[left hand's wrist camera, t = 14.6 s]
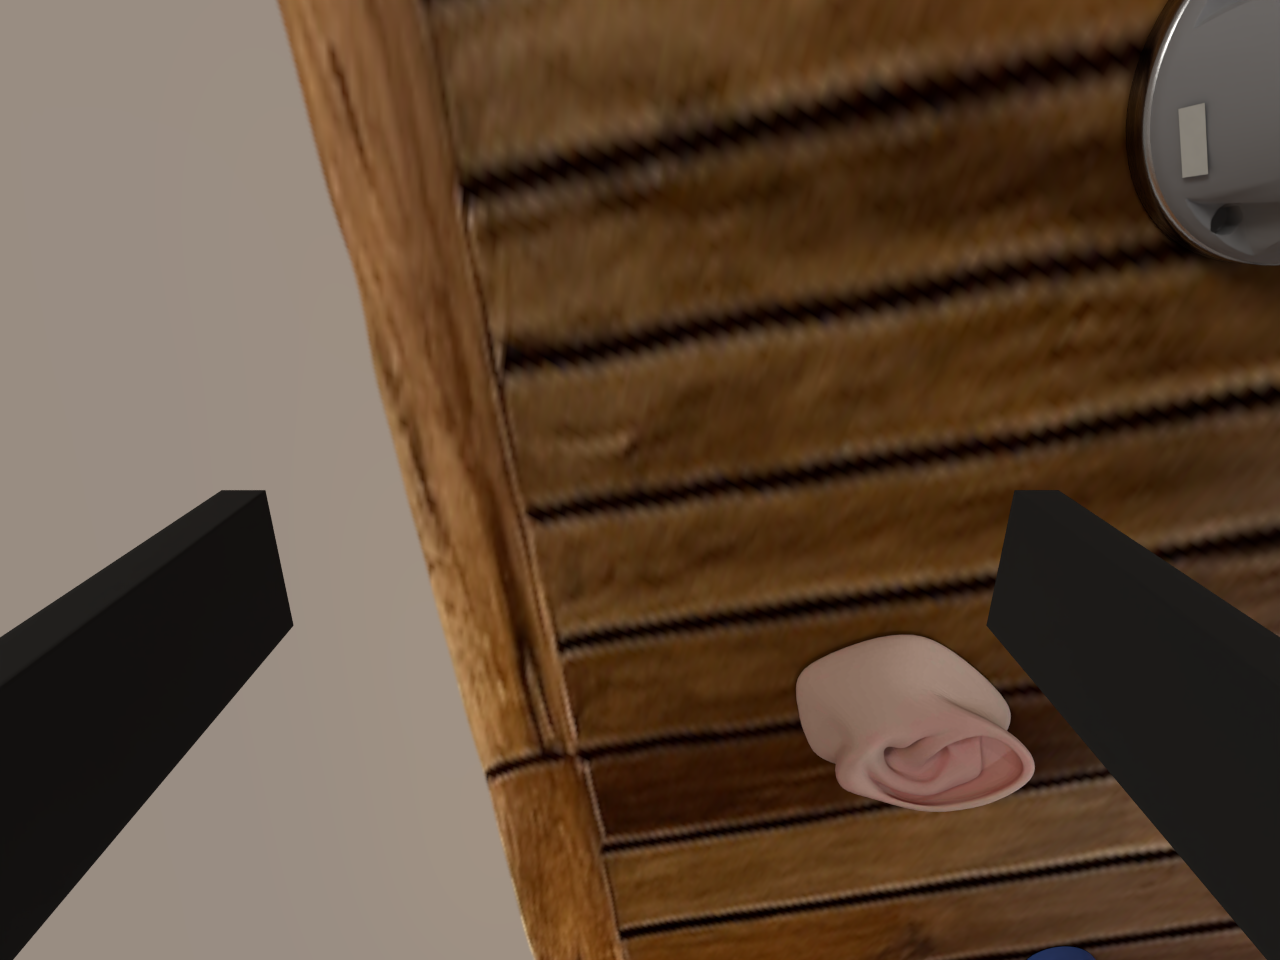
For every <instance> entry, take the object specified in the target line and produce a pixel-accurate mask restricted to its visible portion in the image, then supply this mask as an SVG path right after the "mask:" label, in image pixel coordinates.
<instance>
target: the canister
mask: <svg viewBox="0 0 1280 960" xmlns="http://www.w3.org/2000/svg"><path fill="white" fill-rule="evenodd" d="M1027 960H1095V959H1094V957H1093V956H1092V955H1091V954H1090V953H1088V952H1087V951H1085V950H1083V949H1080V948H1076V947H1069V946H1061V947H1053V948H1049V949H1046V950H1043V951H1040V952H1038V953H1036V954H1034V955H1032V956H1031V957H1030V958H1028V959H1027Z"/></svg>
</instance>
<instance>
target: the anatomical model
mask: <svg viewBox="0 0 1280 960" xmlns="http://www.w3.org/2000/svg"><path fill="white" fill-rule="evenodd" d="M796 699H797V704H798V710H799V715H800V720H801V724H802V728H803V730H804V733H805V735H806V737H807V740H808V742H809V744H810V746H811V748H812V749H813V751H814V752H815V753H816V754H817V755H818V756H820V757H821V758H823V759H825V760H827V761H829V762H832V763H835V764H836V768H835V771H836V777H837V780H838V782H839V784H840V785H841V786H842V787H843V788H844V789H845V790H847V791H849V792H852V793H854V794H858V795H862V796H865V797H869V798H872V799H876V800H879V801H882V802H886V803H889V804H893V805H897V806H900V807H904V808H909V809H914V810H920V811H930V812H945V811H954V810H962V809H968V808H973V807H978V806H982V805H985V804H988V803H991V802H994V801H996V800H999V799H1001V798H1003V797H1006V796H1008V795H1009V794H1011V793H1013V792H1015V791H1016V790H1018V789H1019V788H1021V787H1022V786H1023V785H1025V784H1026V783H1027V782H1028V781H1029V780H1030V779H1031V777H1032V776H1033V773H1034V769H1035V766H1034V761H1033V758H1032V756H1031V754H1030V752H1029V751H1028V750H1027V748H1026V747H1025V746H1024V745H1023V744H1022V743H1021V742H1020V741H1019V740H1018V739H1017V738H1016V737H1014V736H1013V735H1012V734H1010V733H1009V732H1008V731H1007V729H1008V727H1009V724H1010V719H1011V714H1010V710H1009V707H1008V705H1007V703H1006V701H1005V700H1004V698H1003V697H1002V696H1001V694H1000V693H999V692H998V691H997V690H996V689H995V687H994V686H993V685H992V684H991V683H990V682H989V681H988V680H987V679H986V678H985V677H984V676H982V675H981V674H980V673H979V672H978V671H977V670H976V669H974V668H973V667H972V666H971V665H970V664H968V663H967V662H966V661H965V660H963V659H962V658H961V657H959V656H958V655H957V654H955V653H954V652H953V651H951V650H949V649H948V648H946V647H945V646H943V645H941V644H939V643H937V642H935V641H933V640H931V639H928V638H925V637H922V636H916V635H902V634H901V635H890V636H885V637H879V638H874V639H871V640H867V641H863V642H860V643H857V644H854V645H851V646H848V647H846V648H843V649H841V650H838V651H836V652H833V653H831V654H829V655H827V656H825V657H823V658H821V659H819V660H817V661H815V662H813V663H812V664H810V665H809V666H808V667H806V668H805V669H804V670H803V671H802V673H801V674H800V676H799V678H798V680H797V684H796Z"/></svg>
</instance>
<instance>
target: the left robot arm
mask: <svg viewBox="0 0 1280 960" xmlns="http://www.w3.org/2000/svg"><path fill="white" fill-rule="evenodd" d="M1126 148H1127V156H1128V163H1129V168H1130V172H1131V176H1132V180H1133V183H1134V186H1135V189H1136V191H1137V194H1138V196H1139V198H1140V200H1141V202H1142V204H1143V206H1144V208H1145V209H1146V211H1147V212H1148V214H1149V215H1150V217H1151V218H1152V220H1153V221H1154V222H1155V223H1156V224H1157V226H1158V227H1159V228H1160V229H1161V230H1162V231H1163V232H1164V233H1165V234H1166V235H1168V236H1169V237H1170V238H1171V239H1172V240H1174V241H1175V242H1177V243H1178V244H1179V245H1181V246H1182V247H1184V248H1186V249H1188V250H1190V251H1192V252H1194V253H1196V254H1199V255H1202V256H1204V257H1207V258H1211V259H1215V260H1219V261H1225V262H1233V263H1243V264H1255V265H1280V0H1168V2H1167V4H1166V5H1165V7H1164V9H1163V10H1162V12H1161V14H1160V15H1159V17H1158V19H1157V21H1156V23H1155V25H1154V27H1153V29H1152V31H1151V33H1150V35H1149V37H1148V39H1147V41H1146V44H1145V46H1144V49H1143V51H1142V53H1141V56H1140V59H1139V62H1138V65H1137V68H1136V71H1135V74H1134V79H1133V83H1132V87H1131V91H1130V96H1129V103H1128V109H1127V121H1126ZM292 627H293V621H292V616H291V612H290V607H289V602H288V597H287V592H286V588H285V583H284V578H283V573H282V568H281V563H280V559H279V554H278V549H277V544H276V539H275V534H274V530H273V525H272V520H271V515H270V510H269V506H268V501H267V496H266V491H265V490H221V491H220V492H218V493H217V494H216V495H214V496H212V497H211V498H209V499H208V500H206V501H205V502H203V503H202V504H200V505H199V506H197V507H196V508H194V509H193V510H191V511H190V512H188V513H187V514H185V515H184V516H182V517H181V518H179V519H178V520H176V521H175V522H173V523H172V524H170V525H169V526H167V527H166V528H164V529H163V530H161V531H160V532H158V533H157V534H155V535H154V536H152V537H151V538H149V539H148V540H146V541H145V542H143V543H142V544H140V545H139V546H137V547H136V548H134V549H133V550H131V551H130V552H128V553H127V554H125V555H124V556H122V557H121V558H119V559H118V560H116V561H115V562H113V563H112V564H110V565H109V566H107V567H106V568H104V569H103V570H101V571H100V572H98V573H97V574H95V575H93V576H92V577H90V578H89V579H88V580H86V581H84V582H83V583H81V584H80V585H79V586H77V587H75V588H74V589H72V590H71V591H69V592H68V593H66V594H65V595H63V596H62V597H60V598H59V599H57V600H56V601H54V602H53V603H51V604H50V605H48V606H47V607H45V608H44V609H42V610H41V611H39V612H38V613H36V614H35V615H33V616H32V617H30V618H29V619H27V620H26V621H24V622H23V623H21V624H20V625H18V626H17V627H15V628H14V629H12V630H11V631H9V632H8V633H6V634H5V635H3V636H2V637H0V960H13V959H14V958H15V957H16V956H17V954H18V953H19V952H20V951H21V950H22V948H23V947H24V946H25V945H26V944H27V942H28V941H29V940H30V939H31V938H32V936H33V935H34V934H35V933H36V932H37V930H38V929H39V928H40V927H41V926H42V925H43V923H44V922H45V921H46V920H47V919H48V917H49V916H50V915H51V914H52V913H53V911H54V910H55V909H56V908H57V907H58V905H59V904H60V903H61V902H62V901H63V900H64V898H65V897H66V896H67V895H68V894H69V892H70V891H71V890H72V889H73V888H74V886H75V885H76V884H77V883H78V882H79V880H80V879H81V878H82V877H83V876H84V874H85V873H86V872H87V871H88V870H89V868H90V867H91V866H92V865H93V864H94V863H95V861H96V860H97V859H98V858H99V857H100V855H101V854H102V853H103V852H104V851H105V849H106V848H107V847H108V846H109V845H110V844H111V842H112V841H113V840H114V839H115V838H116V836H117V835H118V834H119V833H120V832H121V830H122V829H123V828H124V827H125V826H126V824H127V823H128V822H129V821H130V820H131V818H132V817H133V816H134V815H135V814H136V813H137V811H138V810H139V809H140V808H141V807H142V805H143V804H144V803H145V802H146V801H147V799H148V798H149V797H150V796H151V795H152V793H153V792H154V791H155V790H156V789H157V788H158V786H159V785H160V784H161V783H162V781H163V780H164V779H165V778H166V777H167V776H168V774H169V773H170V772H171V771H172V770H173V768H174V767H175V766H176V765H177V764H178V762H179V761H180V760H181V759H182V758H183V756H184V755H185V754H186V753H187V752H188V751H189V749H190V748H191V747H192V746H193V745H194V743H195V742H196V741H197V740H198V739H199V737H200V736H201V735H202V734H203V733H204V731H205V730H206V729H207V728H208V727H209V725H210V724H211V723H212V722H213V721H214V720H215V718H216V717H217V716H218V715H219V714H220V712H221V711H222V710H223V709H224V708H225V706H226V705H227V704H228V703H229V702H230V701H231V699H232V698H233V697H234V696H235V695H236V693H237V692H238V691H239V690H240V689H241V687H242V686H243V685H244V684H245V683H246V681H247V680H248V679H249V678H250V677H251V675H252V674H253V673H254V672H255V671H256V670H257V668H258V667H259V666H260V665H261V663H262V662H263V661H264V660H265V659H266V658H267V656H268V655H269V654H270V653H271V652H272V650H273V649H274V648H275V647H276V646H277V644H278V643H279V642H280V641H281V640H282V638H283V637H284V636H285V635H286V634H287V633H288V631H289V630H290V629H291V628H292ZM987 627H988V628H989V629H990V630H991V631H992V633H993V634H994V635H995V636H996V637H997V639H998V640H999V641H1000V642H1001V643H1002V645H1003V646H1004V647H1005V648H1006V649H1007V650H1008V652H1009V653H1010V654H1011V655H1012V656H1013V658H1014V659H1015V660H1016V661H1017V662H1018V664H1019V665H1020V666H1021V667H1022V668H1023V670H1024V671H1025V672H1026V673H1027V674H1028V675H1029V677H1030V678H1031V679H1032V680H1033V681H1034V683H1035V684H1036V685H1037V686H1038V687H1039V689H1040V690H1041V691H1042V692H1043V693H1044V695H1045V696H1046V697H1047V698H1048V699H1049V701H1050V702H1051V703H1052V704H1053V705H1054V706H1055V708H1056V709H1057V710H1058V711H1059V712H1060V714H1061V715H1062V716H1063V717H1064V718H1065V720H1066V721H1067V722H1068V723H1069V724H1070V726H1071V727H1072V728H1073V729H1074V730H1075V731H1076V733H1077V734H1078V735H1079V736H1080V737H1081V739H1082V740H1083V741H1084V742H1085V743H1086V745H1087V746H1088V747H1089V748H1090V749H1091V751H1092V752H1093V753H1094V754H1095V755H1096V757H1097V758H1098V759H1099V760H1100V761H1101V762H1102V764H1103V765H1104V766H1105V767H1106V768H1107V770H1108V771H1109V772H1110V773H1111V774H1112V776H1113V777H1114V778H1115V779H1116V780H1117V782H1118V783H1119V784H1120V785H1121V786H1122V788H1123V789H1124V790H1125V791H1126V792H1127V793H1128V795H1129V796H1130V797H1131V798H1132V799H1133V801H1134V802H1135V803H1136V804H1137V805H1138V807H1139V808H1140V809H1141V810H1142V811H1143V813H1144V814H1145V815H1146V816H1147V817H1148V818H1149V820H1150V821H1151V822H1152V823H1153V824H1154V826H1155V827H1156V828H1157V829H1158V830H1159V832H1160V833H1161V834H1162V835H1163V836H1164V838H1165V839H1166V840H1167V841H1168V842H1169V844H1170V845H1171V846H1172V847H1173V848H1174V849H1175V851H1176V852H1177V853H1178V854H1179V855H1180V857H1181V858H1182V859H1183V860H1184V861H1185V863H1186V864H1187V865H1188V866H1189V867H1190V869H1191V870H1192V871H1193V872H1194V873H1195V874H1196V876H1197V877H1198V878H1199V879H1200V880H1201V882H1202V883H1203V884H1204V885H1205V886H1206V888H1207V889H1208V890H1209V891H1210V892H1211V894H1212V895H1213V896H1214V897H1215V898H1216V900H1217V901H1218V902H1219V903H1220V904H1221V905H1222V907H1223V908H1224V909H1225V910H1226V911H1227V913H1228V914H1229V915H1230V916H1231V917H1232V919H1233V920H1234V921H1235V922H1236V923H1237V925H1238V926H1239V927H1240V928H1241V929H1242V931H1243V932H1244V933H1245V934H1246V935H1247V936H1248V938H1249V939H1250V940H1251V941H1252V942H1253V944H1254V945H1255V946H1256V947H1257V948H1258V950H1259V951H1260V952H1261V953H1262V954H1263V956H1264V957H1265V958H1266V959H1267V960H1280V637H1278V636H1277V635H1275V634H1274V633H1272V632H1271V631H1269V630H1268V629H1266V628H1265V627H1263V626H1262V625H1260V624H1259V623H1257V622H1256V621H1254V620H1253V619H1251V618H1250V617H1248V616H1247V615H1245V614H1244V613H1242V612H1241V611H1239V610H1238V609H1236V608H1235V607H1233V606H1232V605H1230V604H1229V603H1227V602H1226V601H1224V600H1223V599H1221V598H1220V597H1218V596H1217V595H1215V594H1214V593H1212V592H1211V591H1209V590H1208V589H1206V588H1205V587H1203V586H1202V585H1200V584H1199V583H1197V582H1196V581H1194V580H1193V579H1191V578H1190V577H1188V576H1187V575H1185V574H1184V573H1182V572H1181V571H1179V570H1177V569H1176V568H1174V567H1173V566H1171V565H1170V564H1168V563H1167V562H1165V561H1164V560H1162V559H1161V558H1159V557H1158V556H1156V555H1155V554H1153V553H1152V552H1150V551H1149V550H1147V549H1146V548H1144V547H1143V546H1141V545H1140V544H1138V543H1137V542H1135V541H1134V540H1132V539H1131V538H1129V537H1128V536H1126V535H1125V534H1123V533H1122V532H1120V531H1119V530H1117V529H1116V528H1114V527H1113V526H1111V525H1110V524H1108V523H1107V522H1105V521H1104V520H1102V519H1101V518H1099V517H1098V516H1096V515H1095V514H1093V513H1092V512H1090V511H1089V510H1087V509H1086V508H1084V507H1083V506H1081V505H1080V504H1078V503H1077V502H1075V501H1074V500H1072V499H1071V498H1069V497H1068V496H1066V495H1065V494H1063V493H1062V492H1060V491H1059V490H1015V491H1014V496H1013V501H1012V506H1011V510H1010V515H1009V520H1008V525H1007V530H1006V534H1005V539H1004V544H1003V549H1002V554H1001V559H1000V563H999V568H998V573H997V578H996V583H995V587H994V592H993V597H992V602H991V607H990V612H989V616H988V621H987Z"/></svg>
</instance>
